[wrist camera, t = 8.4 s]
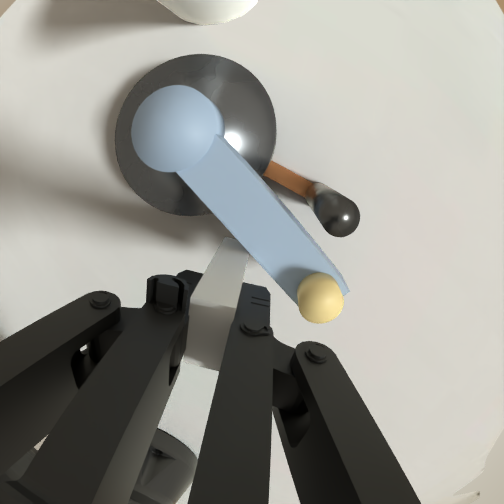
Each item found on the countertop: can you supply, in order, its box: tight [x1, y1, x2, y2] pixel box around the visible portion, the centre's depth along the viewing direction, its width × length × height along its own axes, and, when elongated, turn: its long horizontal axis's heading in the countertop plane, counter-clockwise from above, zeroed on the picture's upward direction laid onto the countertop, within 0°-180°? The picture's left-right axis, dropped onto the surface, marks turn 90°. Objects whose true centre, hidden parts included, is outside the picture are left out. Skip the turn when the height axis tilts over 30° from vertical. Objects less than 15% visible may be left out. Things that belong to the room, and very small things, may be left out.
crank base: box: [115, 54, 360, 237], centre depth 13 cm, size 12×10×6 cm
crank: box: [131, 85, 350, 323], centre depth 12 cm, size 13×4×3 cm, turn 41°
